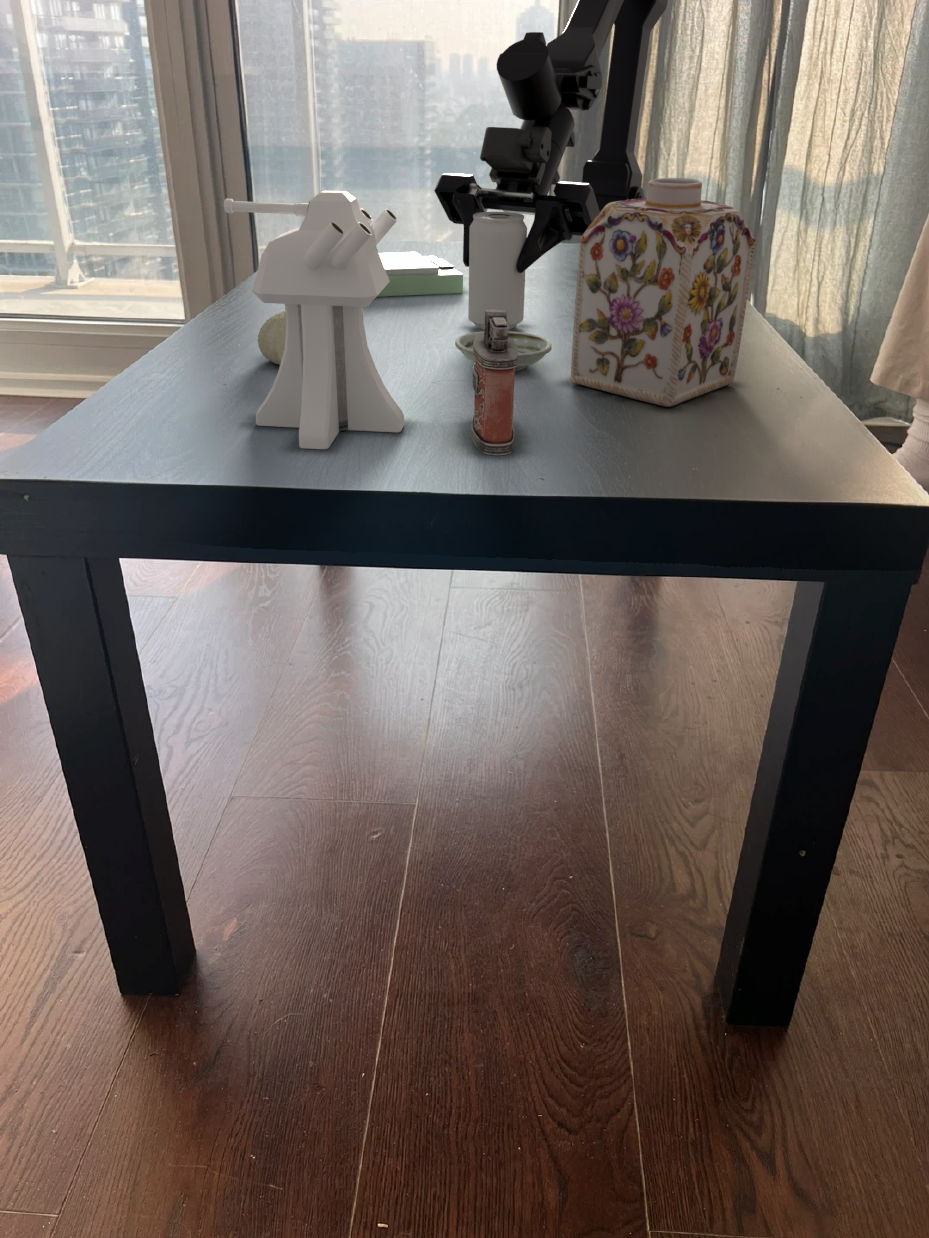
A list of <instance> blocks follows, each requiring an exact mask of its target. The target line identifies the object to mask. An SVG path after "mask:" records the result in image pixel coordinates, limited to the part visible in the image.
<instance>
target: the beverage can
mask: <svg viewBox="0 0 929 1238" xmlns="http://www.w3.org/2000/svg"><path fill="white" fill-rule="evenodd" d="M473 218H474V220H473V222H472V224H471V225H470V234H469V267H468V307H467V308H468V309H467V310H468V312H467V314H468V315H467V316H468V320H469V321H470V322H471V323H473V324H474V326H475V327H476V328H478V329H481V330H484V323H485V311H486V310H500V311H506V312H507V322H508V324H509V330H511V329H514V328H516V327H517V326H518V325H519V324H520V323H522V322H523V320H524V313H525V312H524V311H525V291H526V290H525V289H526V288H525V286H526V270H525V271H524V272H522V273H518V271H517V269H516V265H517V262H518V259H519V255H520V253H521V250H522V248H523V246H524V243H525V241H526V239H527V236H528V226H527V224H526V223H525V221H524V219H525V214H518V213H512V212H503V211H487V212H481V213H476V214H474V215H473Z"/></svg>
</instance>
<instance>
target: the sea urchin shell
mask: <svg viewBox="0 0 929 1238" xmlns="http://www.w3.org/2000/svg"><path fill="white" fill-rule="evenodd" d="M285 338H286V314H285V310H283V311H280V312H277V313H276V314H274V315H272V316H270V317H269V318H268V319H266V321H265V322H264V323H263V324H262V325H261V327H260V328H259V331H258V335H257V344H258V348H259V350H260V352H261V354H262V356H263V357H265V359H266V360H269V361H270V362H272V363H273V364H276V365H279V366H280V364H281V360H282V357H283V353H284V350H285Z"/></svg>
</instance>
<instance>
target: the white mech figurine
mask: <svg viewBox="0 0 929 1238" xmlns="http://www.w3.org/2000/svg"><path fill="white" fill-rule="evenodd" d="M223 210H224V212H225V213H226V214H234V212H235V213H236V212H237V213H255V214H258V213H259V214H273V215H274V214H275V215H291V216H292V215H293V216H294V215H295V217H304V218H303V220H302V222H301V224H300V226H299V227H295V228H293V229H290V230H287V231H286V232H284V233H282V234H280V235H278V236H277V237H275V238H273V239H272V240H270V241H268V243H267V245H266V247H265V248H264V250H263V252H262V253H261V257H260V260H259V262H258V263H259V264H258V267H257V270H256V274H255V278H254V280H253V285H252V287H251V292H252V293H253V294H254V295H255V296H256V297H257V298H258V299H259V300H260V301H261V302H262V303H263V304H280V305H281V304H282V305H284V311H285V314H286V338H285V350H284V353H283V357H282V360H281V364H280V365H279V368H278V370H277V373H276V376H275V378H274V381H273V384H272V386H271V389H270V390H269V392H268V393H267V395H266V398H264V400H263V402H262V403H261V405H260V406H259V407H258V409H257V410H256V413H255V423H256V424H255V425H256V426H258V427H259V426H260V427H279V428H298V445H299V446H298V447H299V448H300V449H307V450H308V449H310V450H328V449H329V448H330V447H331V445H332V444H333V442H334V441H335V439H336V437H338V434H339V433H340V432H343V431H357V432H358V431H359V432H378V433H379V432H381V433H400V432H402V430H403V428H404V426H405V415H404V412H403V410H402V408H400V406H399V405H398V403H397V402H396V401H395V400H394V398H393V396H392V395H391V394H390V392H389V390H388V389H387V387H386V386H385V384H384V382H383V380H382V377H381V376H380V374H379V371H378V369H377V367H376V365H375V362H374V359H373V356H372V354H371V351H370V348H369V345H368V341H367V333H366V329H365V328H366V327H365V321H364V308H367V307H368V306H369V305H370V304H371V303H372V302H373V301H374V300H375V299H376V298H378V297H377V296H378V294H379V293H380V292H381V291H382V290H383V289H384V288H385V286H386V285H387V284H388V283H389V282H390V281H389V278H388V276H387V273H386V271H385V268H384V266H383V263H382V260H381V258H380V255H379V253H380V252H379V251H378V248H377V245H378V244H379V243H380V242H381V241H382V239H383V238H384V237H385V236H386V234H388V232H389V231H390V230H391V229H392V228H393V226H394V225H395V224H396V223H397V222H398V218H397V216H396V215H395V214H394V213H393V212H392V211H391V210H389V209H388V208H385V209H384V210H383V211H382V213H381V214H379V216H378V217H377V218H376V219H375V220H374V222H373V223H372V224H371V222H372V221H373V218H372V216H371V215H370V213H368V212H367V211H366V210H365V209H364V208H361V207H360V204H359V202H358V198H357V197H356V196H354V195H352V194H351V193H350V192H348V191H347V190H326V189H325V190H322V191H320V192H318V194H316V195H315V196H314V197H313V198H311V199H310V200H309V201H308V202H295V203H282V202H281V203H280V202H263V201H261V202H260V201H242V200H234V199H233V198H225V199H224V200H223Z"/></svg>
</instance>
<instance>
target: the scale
mask: <svg viewBox="0 0 929 1238" xmlns="http://www.w3.org/2000/svg"><path fill="white" fill-rule="evenodd" d="M378 253H379V255H380V258H381V260H382V263H383V266H384V268H385V271H386V273H387V276H388V278H389V281H390V282H389V283H388V284H387V285H386V286H385V288H384V289H383V290H382V291H381V292H380V293H379V294H378V296H377V297H376V298H382V297H383V298H384V297H401V296H403V297H405V296H406V297H407V296H422V295H423V296H424V295H425V296H427V295H447V294H449V295H450V294H463V293H464V273H462V272H460V271H458V269H455V266H454V265H453V264H451V263H449V262H448V261H446V260H444V259H443V258H438V257H437V256H435V255H428V256H427V255H423V256H422V255H421V254H420V253H418V252H417V251H406V252H405V251H403V252H378Z"/></svg>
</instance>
